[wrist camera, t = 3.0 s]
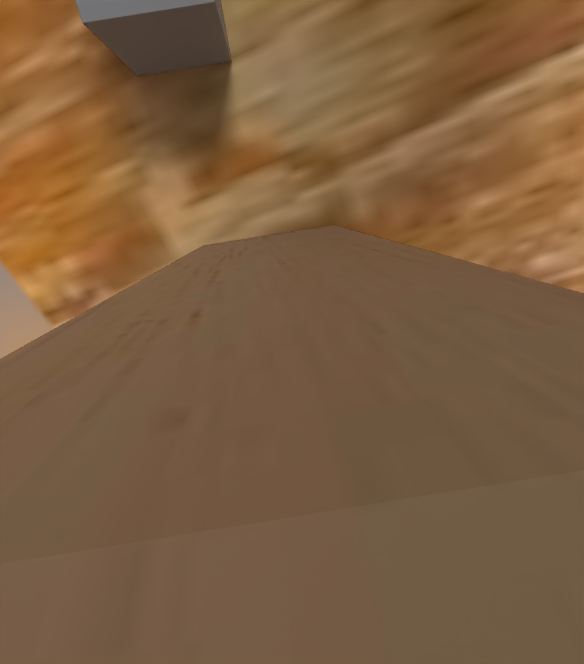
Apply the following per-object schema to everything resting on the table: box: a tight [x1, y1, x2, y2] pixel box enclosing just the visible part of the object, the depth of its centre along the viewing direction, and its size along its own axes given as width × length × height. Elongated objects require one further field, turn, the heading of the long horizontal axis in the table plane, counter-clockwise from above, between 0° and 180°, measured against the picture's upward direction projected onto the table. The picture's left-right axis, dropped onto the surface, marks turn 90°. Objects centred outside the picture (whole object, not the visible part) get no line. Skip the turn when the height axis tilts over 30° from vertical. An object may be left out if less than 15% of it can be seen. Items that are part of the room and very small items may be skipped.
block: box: [0, 225, 584, 664], centre depth 12 cm, size 10×10×20 cm
